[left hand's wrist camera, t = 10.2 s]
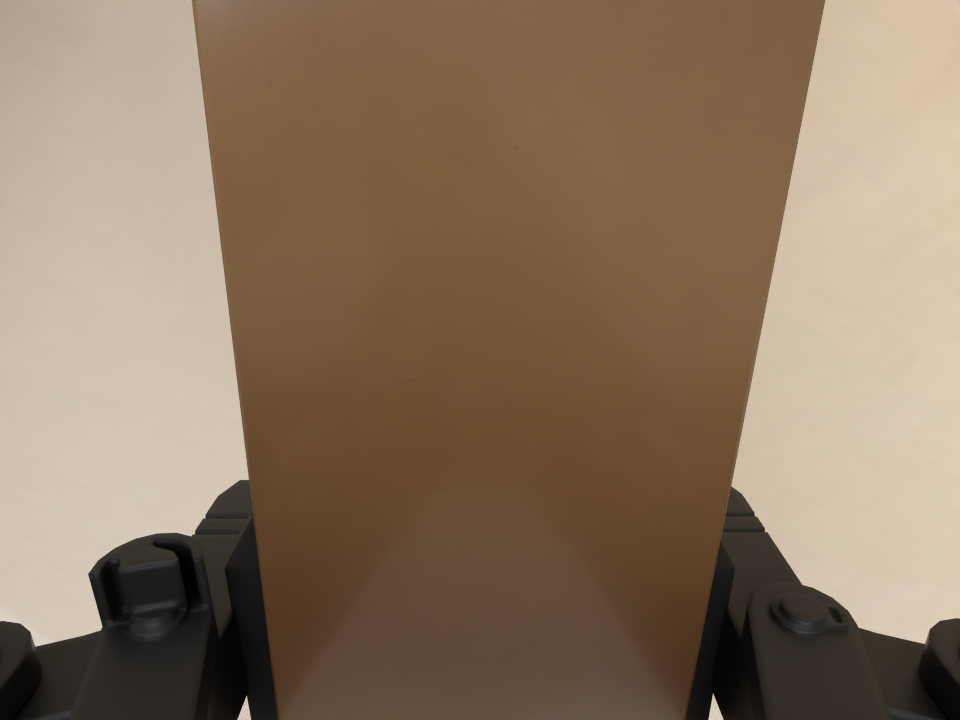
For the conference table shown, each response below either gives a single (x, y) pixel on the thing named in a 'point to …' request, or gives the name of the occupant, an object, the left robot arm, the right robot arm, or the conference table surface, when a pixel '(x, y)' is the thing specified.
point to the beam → (496, 334)
